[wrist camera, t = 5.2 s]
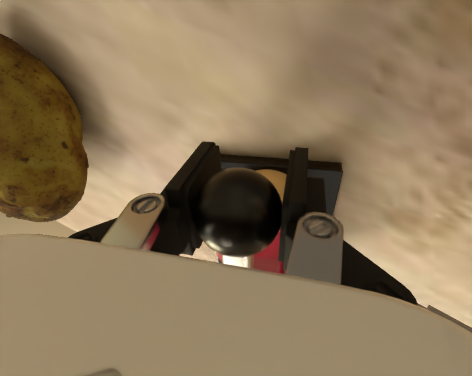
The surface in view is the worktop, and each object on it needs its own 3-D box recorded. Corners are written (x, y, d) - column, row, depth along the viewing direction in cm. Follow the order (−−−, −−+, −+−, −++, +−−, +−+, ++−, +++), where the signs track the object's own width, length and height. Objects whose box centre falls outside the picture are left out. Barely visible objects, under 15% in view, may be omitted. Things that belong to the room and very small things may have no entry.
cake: (230, 164, 19) (207, 210, 15) (310, 171, 18) (310, 223, 14) (234, 221, 22) (216, 272, 18) (302, 230, 21) (299, 287, 17)
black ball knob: (208, 152, 10) (171, 187, 7) (289, 158, 9) (282, 199, 7) (221, 357, 17) (204, 417, 14) (270, 369, 16) (263, 435, 13)
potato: (82, 34, 17) (-50, 52, 11) (122, 185, 25) (57, 247, 19) (-17, 23, 19) (-186, 34, 12) (50, 170, 26) (-33, 223, 20)
